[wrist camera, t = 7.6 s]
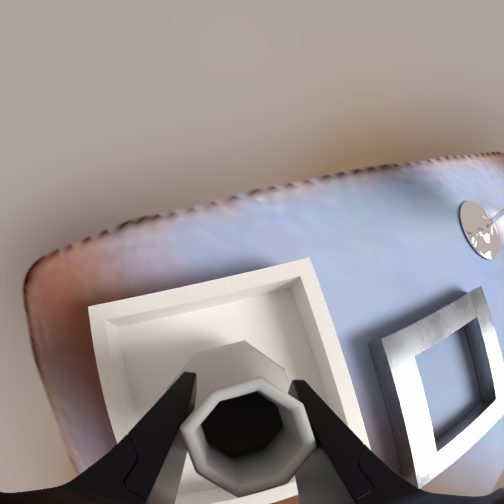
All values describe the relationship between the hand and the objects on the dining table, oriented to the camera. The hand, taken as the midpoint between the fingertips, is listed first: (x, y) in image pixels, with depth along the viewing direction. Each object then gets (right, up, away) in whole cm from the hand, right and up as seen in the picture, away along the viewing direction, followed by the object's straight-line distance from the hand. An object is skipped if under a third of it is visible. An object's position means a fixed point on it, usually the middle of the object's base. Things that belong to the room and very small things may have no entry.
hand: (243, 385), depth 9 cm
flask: (-1, -4, +6) cm, 8 cm away
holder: (+17, -7, +9) cm, 20 cm away
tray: (-1, -5, +8) cm, 9 cm away
